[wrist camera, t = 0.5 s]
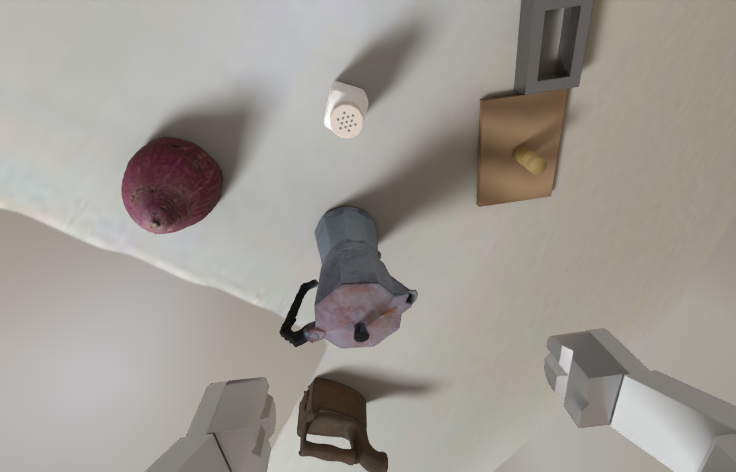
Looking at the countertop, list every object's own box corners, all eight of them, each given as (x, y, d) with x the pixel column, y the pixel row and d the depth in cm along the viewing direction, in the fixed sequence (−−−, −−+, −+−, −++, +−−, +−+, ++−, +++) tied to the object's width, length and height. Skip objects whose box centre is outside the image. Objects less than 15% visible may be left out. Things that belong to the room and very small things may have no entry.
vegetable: (215, 131, 45) (204, 150, 32) (231, 208, 49) (227, 252, 36) (122, 138, 42) (68, 162, 29) (147, 218, 47) (110, 271, 33)
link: (521, -1, 37) (534, -2, 35) (578, -9, 37) (595, -12, 35) (513, 90, 42) (525, 94, 39) (564, 82, 42) (578, 86, 39)
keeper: (480, 99, 42) (499, 110, 37) (563, 86, 42) (594, 96, 37) (476, 203, 50) (492, 224, 44) (547, 193, 49) (571, 213, 44)
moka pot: (406, 239, 52) (439, 347, 35) (313, 277, 54) (302, 395, 37) (381, 185, 47) (404, 279, 30) (280, 230, 50) (250, 340, 33)
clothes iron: (368, 415, 75) (373, 487, 63) (296, 400, 70) (288, 474, 59) (385, 394, 71) (394, 465, 60) (311, 375, 66) (306, 449, 55)
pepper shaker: (324, 114, 42) (321, 136, 34) (332, 79, 40) (331, 93, 32) (357, 123, 43) (361, 147, 35) (366, 89, 41) (373, 106, 33)
